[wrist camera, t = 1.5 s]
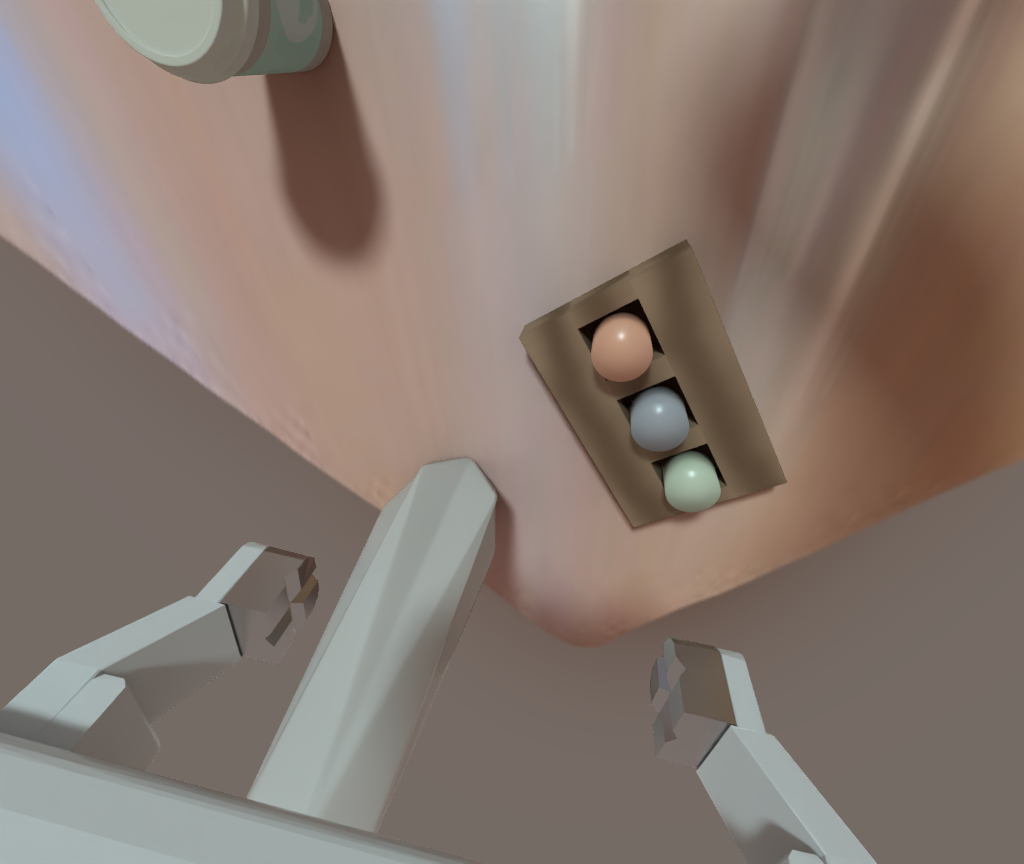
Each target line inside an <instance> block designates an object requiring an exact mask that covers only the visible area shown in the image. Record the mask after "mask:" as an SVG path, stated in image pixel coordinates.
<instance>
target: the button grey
mask: <svg viewBox="0 0 1024 864" xmlns="http://www.w3.org/2000/svg"><path fill="white" fill-rule="evenodd" d="M630 422H631V434H632V437H633V439H634V440H635V441H636V443H637V444H638V445H640V446H641V447H643V448H645V449H647V450H650V451H658V452H660V451H667V450H671V449H673V448H675V447H677V446H678V445H680V444H681V443H682V442H683V441H684V440H685V438H686V437H687V435H688V432H689V421H688V417H687V413H686V409H685V405H684V402H683V399H682V398H681V396H680V395H679V394H678V393H677V392H676V391H674V390H672V389H670V388H667V387H662V386H656V387H650V388H647V389H645V390H643V391H641V392H640V393H639V394H637V395H636V396H635V398H634V399H633V401H632V403H631V406H630Z"/></svg>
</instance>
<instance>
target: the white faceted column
mask: <svg viewBox="0 0 1024 864" xmlns="http://www.w3.org/2000/svg"><path fill="white" fill-rule="evenodd" d="M497 498H498V496H497V492H496V489H495V487H494V486H493V485H492V483H491V482H490V481H489V479H488V478H487V477H486V475H485V474H484V473H483V471H482V470H481V469H480V468H479V466H478V465H477V464H476V463H475V461H474V460H471V459H469V458H457V459H448V460H440V461H432V462H429V463H427V464H425V465H423V466H422V467H421V468H420V470H419V472H418V474H417V476H416V477H415V478H414V479H413V480H412V481H410V482H409V483H408V484H407V485H406V486H405V487H404V488H403V489H402V490H401V491H400V492H399V493H398V494H396V495H395V496H394V497H393V498H392V499H391V500H390V501H389V502H388V503H387V504H386V505H385V507H384V508H383V510H382V511H381V514H380V516H379V517H378V519H377V521H376V523H375V525H374V528H373V530H372V532H371V534H370V536H369V538H368V541H367V542H366V545H365V547H364V549H363V551H362V553H361V555H360V558H359V560H358V562H357V564H356V566H355V568H354V570H353V572H352V574H351V576H350V579H349V581H348V583H347V585H346V587H345V589H344V591H343V593H342V596H341V598H340V600H339V602H338V604H337V606H336V609H335V610H334V613H333V615H332V617H331V619H330V621H329V623H328V625H327V627H326V630H325V632H324V634H323V636H322V638H321V640H320V642H319V645H318V647H317V649H316V651H315V653H314V655H313V657H312V659H311V661H310V663H309V666H308V668H307V670H306V672H305V674H304V676H303V679H302V680H301V683H300V685H299V687H298V689H297V691H296V693H295V695H294V697H293V700H292V702H291V704H290V706H289V708H288V710H287V712H286V714H285V717H284V719H283V721H282V723H281V725H280V727H279V730H278V731H277V734H276V736H275V738H274V740H273V742H272V744H271V746H270V749H269V751H268V753H267V755H266V757H265V759H264V761H263V763H262V766H261V768H260V770H259V772H258V774H257V777H256V778H255V781H254V783H253V785H252V787H251V789H250V791H249V794H248V796H247V799H250V800H254V801H258V802H261V803H265V804H269V805H273V806H276V807H280V808H284V809H287V810H291V811H295V812H299V813H302V814H306V815H310V816H313V817H317V818H321V819H324V820H328V821H332V822H336V823H339V824H343V825H347V826H350V827H354V828H358V829H362V830H365V831H369V832H373V833H376V834H378V831H379V829H380V826H381V824H382V822H383V820H384V817H385V815H386V812H387V810H388V807H389V805H390V803H391V800H392V798H393V796H394V794H395V791H396V789H397V786H398V784H399V782H400V779H401V777H402V775H403V772H404V770H405V767H406V764H407V762H408V760H409V758H410V756H411V753H412V750H413V748H414V746H415V743H416V741H417V739H418V736H419V734H420V732H421V729H422V727H423V724H424V722H425V719H426V717H427V715H428V712H429V710H430V708H431V705H432V703H433V701H434V698H435V696H436V693H437V691H438V689H439V686H440V684H441V682H442V679H443V677H444V674H445V672H446V670H447V667H448V665H449V663H450V660H451V658H452V655H453V653H454V651H455V648H456V646H457V643H458V641H459V639H460V636H461V634H462V632H463V629H464V627H465V624H466V622H467V620H468V617H469V615H470V613H471V610H472V608H473V606H474V603H475V601H476V598H477V596H478V594H479V591H480V589H481V587H482V584H483V582H484V579H485V577H486V575H487V572H488V570H489V567H490V565H491V562H492V559H493V557H494V553H495V504H496V501H497Z"/></svg>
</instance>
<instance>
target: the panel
mask: <svg viewBox="0 0 1024 864" xmlns="http://www.w3.org/2000/svg"><path fill="white" fill-rule="evenodd" d="M636 299H639V301H640V303H641V305H642V307H643V309H644V311H645V314H646V316H647V318H648V320H649V322H650V324H651V326H652V328H653V330H654V333H655V335H656V337H657V339H658V341H659V342H658V343H656V344H654V345H652V348H653V356H652V361H651V363H650V365H649V367H648V368H647V370H646V371H645V372H644V373H643V374H642V375H640V376H639V377H637V378H635V379H633V380H630V381H625V382H616V381H611V380H608V379H606V378H604V377H603V376H601V375H600V374H599V373H598V372H597V371H596V369H595V368H594V366H593V363H592V359H591V350H592V341H593V340H592V338H591V336H590V334H589V332H588V331H587V329H586V327H585V325H587V324H589V323H591V322H593V321H595V320H597V319H599V318H601V317H603V316H605V315H607V314H609V313H611V312H613V311H615V310H617V309H619V308H620V307H622V306H624V305H626V304H628V303H630V302H632V301H634V300H636ZM519 339H520V341H521V343H522V344H523V346H524V348H525V349H526V351H527V353H528V354H529V356H530V357H531V359H532V361H533V362H534V364H535V366H536V367H537V369H538V371H539V372H540V374H541V376H542V377H543V379H544V381H545V382H546V384H547V386H548V387H549V389H550V390H551V392H552V394H553V395H554V397H555V399H556V400H557V402H558V404H559V405H560V407H561V409H562V410H563V412H564V414H565V415H566V417H567V418H568V420H569V422H570V423H571V425H572V427H573V428H574V430H575V432H576V433H577V435H578V437H579V438H580V440H581V442H582V443H583V445H584V447H585V448H586V450H587V451H588V453H589V455H590V456H591V458H592V460H593V461H594V463H595V465H596V466H597V468H598V470H599V471H600V473H601V475H602V476H603V478H604V480H605V481H606V483H607V484H608V486H609V488H610V489H611V491H612V493H613V494H614V496H615V498H616V499H617V501H618V503H619V504H620V506H621V508H622V509H623V511H624V513H625V514H626V516H627V517H628V519H629V521H630V522H631V524H632V526H633V527H636V526H640V525H643V524H647V523H650V522H654V521H657V520H660V519H664V518H667V517H671V516H674V515H678V514H681V513H684V512H685V511H681V510H678V509H676V508H674V507H673V506H672V505H671V504H670V503H669V502H668V500H667V498H666V495H665V487H664V480H663V470H662V468H661V467H660V465H659V463H658V460H660V459H663V458H666V457H669V456H672V455H675V454H678V453H681V452H684V451H686V450H689V449H692V448H695V447H698V446H701V445H704V444H708V446H709V448H710V450H711V453H712V455H713V457H714V459H715V461H716V463H717V465H718V467H717V468H715V471H716V474H717V478H718V481H719V484H720V488H721V494H720V497H719V499H718V501H717V502H716V503H719V502H722V501H726V500H729V499H732V498H736V497H739V496H743V495H746V494H750V493H753V492H756V491H760V490H763V489H767V488H770V487H774V486H777V485H781V484H784V483H787V481H786V478H785V476H784V473H783V471H782V468H781V466H780V464H779V461H778V459H777V456H776V454H775V451H774V449H773V446H772V444H771V441H770V439H769V436H768V434H767V432H766V429H765V427H764V424H763V422H762V419H761V417H760V414H759V412H758V409H757V407H756V405H755V402H754V400H753V397H752V395H751V392H750V390H749V387H748V385H747V382H746V380H745V378H744V375H743V373H742V370H741V368H740V365H739V363H738V360H737V358H736V355H735V353H734V351H733V348H732V346H731V343H730V341H729V338H728V336H727V333H726V331H725V328H724V326H723V324H722V321H721V319H720V316H719V314H718V311H717V309H716V306H715V304H714V301H713V299H712V296H711V294H710V292H709V289H708V287H707V284H706V282H705V279H704V277H703V274H702V272H701V269H700V267H699V265H698V262H697V260H696V257H695V255H694V252H693V250H692V248H691V246H690V244H689V243H688V241H687V240H684V241H682V242H681V243H679V244H677V245H675V246H673V247H671V248H669V249H668V250H666V251H664V252H662V253H660V254H658V255H656V256H654V257H653V258H651V259H649V260H647V261H645V262H643V263H641V264H639V265H638V266H636V267H634V268H632V269H630V270H628V271H626V272H624V273H623V274H621V275H619V276H617V277H615V278H613V279H611V280H609V281H608V282H606V283H604V284H602V285H600V286H598V287H596V288H594V289H593V290H591V291H589V292H587V293H585V294H583V295H581V296H580V297H578V298H576V299H574V300H572V301H570V302H568V303H566V304H565V305H563V306H561V307H559V308H557V309H555V310H553V311H551V312H550V313H548V314H546V315H544V316H542V317H540V318H538V319H536V320H535V321H533V322H531V323H529V324H527V325H525V327H524V329H523V331H522V333H521V335H520V337H519ZM674 376H675V377H676V379H677V381H678V383H679V385H680V387H681V389H682V391H683V394H684V396H685V398H686V400H687V402H688V404H689V406H690V408H691V409H688V410H686V413H687V417H688V421H689V432H688V435H687V437H686V438H685V440H684V441H683V442H682V443H681V444H680V445H678V446H677V447H675V448H673V449H671V450H667V451H660V452H658V451H650V450H647V449H645V448H643V447H641V446H640V445H638V444H637V443H636V441H635V440H634V439H633V437H632V434H631V422H630V409H629V407H628V405H627V403H626V401H625V399H624V397H626V396H629V395H631V394H633V393H636V392H638V391H641V390H643V389H645V388H648V387H650V386H653V385H655V384H657V383H660V382H662V381H665V380H667V379H669V378H672V377H674Z"/></svg>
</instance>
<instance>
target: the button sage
mask: <svg viewBox="0 0 1024 864" xmlns="http://www.w3.org/2000/svg"><path fill="white" fill-rule="evenodd" d="M663 480H664V487H665V495H666V498H667V500H668V502H669V503H670V504H671V505H672V506H673V507H674V508H676V509H678V510H681V511H685V512H699V511H703V510H706V509H708V508H710V507H711V506H713V505H714V504H715V503H716V502H717V501H718V499H719V497H720V494H721V488H720V484H719V481H718V478H717V474H716V471H715V467H714V464H713V462H712V460H711V459H710V458H709V457H708V456H706V455H705V454H703V453H700V452H696V451H684V452H681V453H678V454H675V455H673V456H671V457H670V458H669V459H668V460H667V461H666V462H665V464H664V466H663Z"/></svg>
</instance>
